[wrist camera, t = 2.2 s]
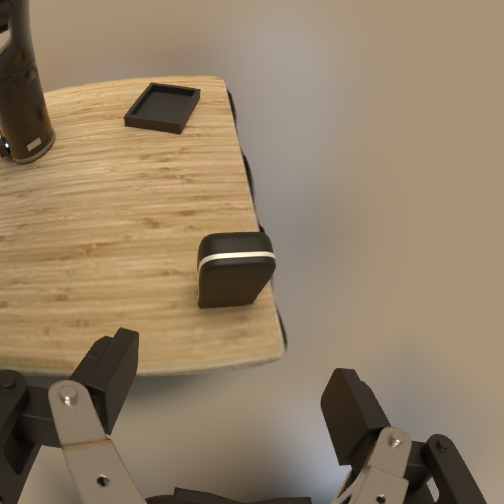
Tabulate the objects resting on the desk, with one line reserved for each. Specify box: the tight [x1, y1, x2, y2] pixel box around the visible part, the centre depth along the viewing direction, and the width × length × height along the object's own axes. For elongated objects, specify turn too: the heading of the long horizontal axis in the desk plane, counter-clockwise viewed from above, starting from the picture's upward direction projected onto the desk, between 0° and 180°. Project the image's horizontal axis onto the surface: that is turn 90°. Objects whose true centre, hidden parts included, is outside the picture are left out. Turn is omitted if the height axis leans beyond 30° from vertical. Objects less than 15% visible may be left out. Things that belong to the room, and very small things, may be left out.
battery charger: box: [197, 232, 276, 308], centre depth 30 cm, size 7×4×11 cm, turn 99°
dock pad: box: [124, 83, 200, 134], centre depth 48 cm, size 11×13×2 cm
